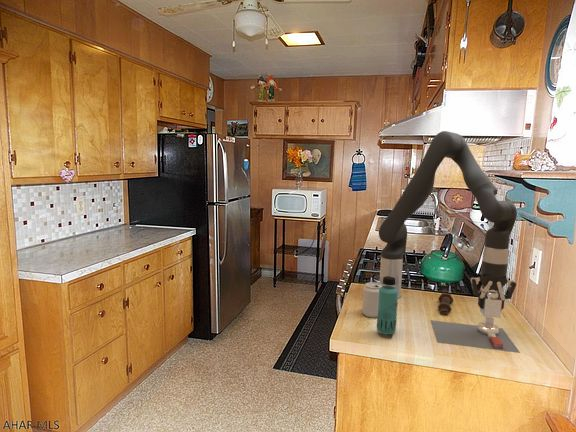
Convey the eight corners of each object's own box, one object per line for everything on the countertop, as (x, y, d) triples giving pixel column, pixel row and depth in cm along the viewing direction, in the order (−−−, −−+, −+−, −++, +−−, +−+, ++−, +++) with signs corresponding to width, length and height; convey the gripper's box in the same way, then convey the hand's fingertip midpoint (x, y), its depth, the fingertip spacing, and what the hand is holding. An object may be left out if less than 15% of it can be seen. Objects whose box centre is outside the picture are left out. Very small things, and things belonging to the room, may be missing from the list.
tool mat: (437, 344, 122) (437, 342, 122) (430, 322, 139) (430, 320, 139) (520, 355, 116) (520, 352, 116) (502, 330, 133) (502, 328, 133)
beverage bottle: (376, 337, 125) (380, 279, 123) (375, 329, 132) (378, 273, 129) (397, 339, 125) (400, 281, 122) (394, 330, 131) (397, 275, 128)
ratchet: (486, 347, 119) (488, 331, 118) (475, 327, 134) (476, 313, 133) (509, 350, 118) (511, 334, 117) (495, 329, 132) (496, 315, 131)
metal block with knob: (483, 316, 127) (485, 293, 126) (480, 310, 132) (482, 288, 131) (500, 317, 126) (502, 294, 125) (495, 312, 131) (498, 289, 130)
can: (380, 319, 140) (382, 288, 138) (360, 316, 143) (362, 286, 141) (382, 312, 147) (384, 282, 145) (363, 309, 150) (364, 280, 148)
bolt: (441, 321, 145) (443, 307, 158) (454, 317, 142) (455, 303, 156) (434, 307, 145) (436, 294, 158) (446, 303, 143) (448, 290, 156)
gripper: (515, 259, 128) (509, 307, 131) (469, 256, 132) (465, 302, 134) (523, 265, 121) (517, 315, 123) (474, 261, 124) (469, 310, 127)
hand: (490, 308), depth 129 cm, fingers closed on metal block with knob, 5 cm apart
